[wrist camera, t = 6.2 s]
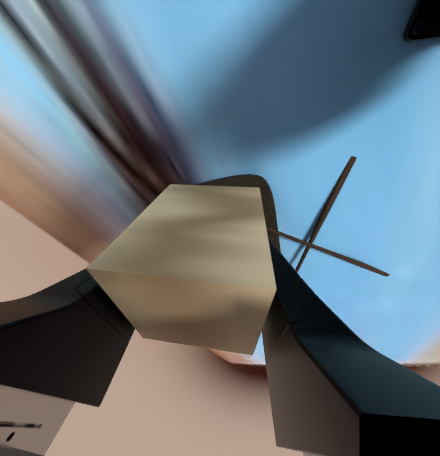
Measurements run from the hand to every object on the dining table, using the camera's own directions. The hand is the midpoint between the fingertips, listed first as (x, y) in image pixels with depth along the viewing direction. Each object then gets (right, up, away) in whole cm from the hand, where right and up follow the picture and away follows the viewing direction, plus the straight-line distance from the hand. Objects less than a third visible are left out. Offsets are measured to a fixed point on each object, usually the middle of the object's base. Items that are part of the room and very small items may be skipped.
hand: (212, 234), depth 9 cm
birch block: (0, +1, +1) cm, 1 cm away
